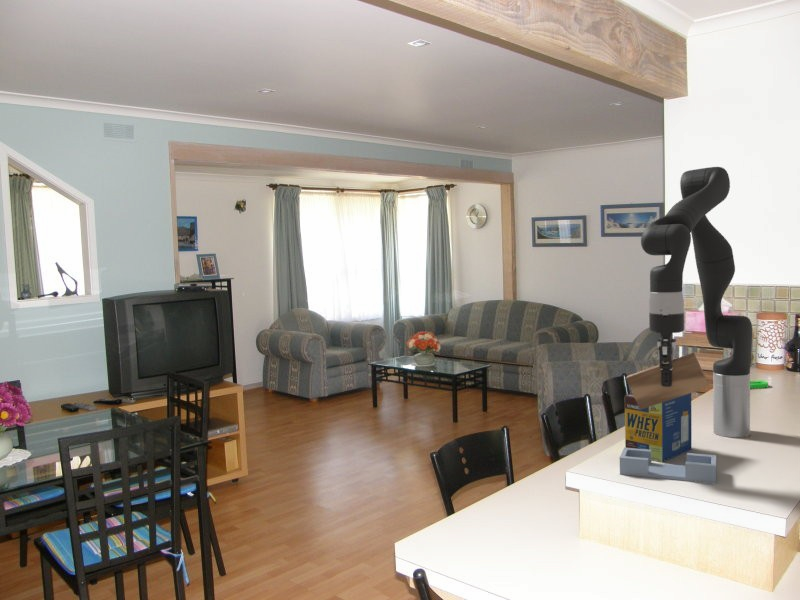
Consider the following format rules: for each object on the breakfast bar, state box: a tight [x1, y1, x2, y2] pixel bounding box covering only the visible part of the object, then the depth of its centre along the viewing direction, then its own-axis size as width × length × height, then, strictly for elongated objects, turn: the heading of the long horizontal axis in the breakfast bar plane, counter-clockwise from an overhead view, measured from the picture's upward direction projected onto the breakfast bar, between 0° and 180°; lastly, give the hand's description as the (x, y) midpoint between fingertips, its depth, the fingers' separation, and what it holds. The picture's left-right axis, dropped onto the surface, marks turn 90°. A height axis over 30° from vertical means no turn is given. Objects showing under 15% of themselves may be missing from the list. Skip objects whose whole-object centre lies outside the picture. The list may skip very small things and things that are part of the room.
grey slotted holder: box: [619, 447, 717, 484], centre depth 159 cm, size 8×21×4 cm, turn 65°
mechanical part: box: [750, 380, 769, 389], centre depth 246 cm, size 12×6×8 cm, turn 93°
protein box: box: [624, 392, 693, 463], centre depth 175 cm, size 10×15×16 cm
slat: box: [625, 352, 710, 410], centre depth 158 cm, size 3×16×8 cm, turn 65°
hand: (667, 384), depth 158 cm, fingers closed on slat, 3 cm apart
